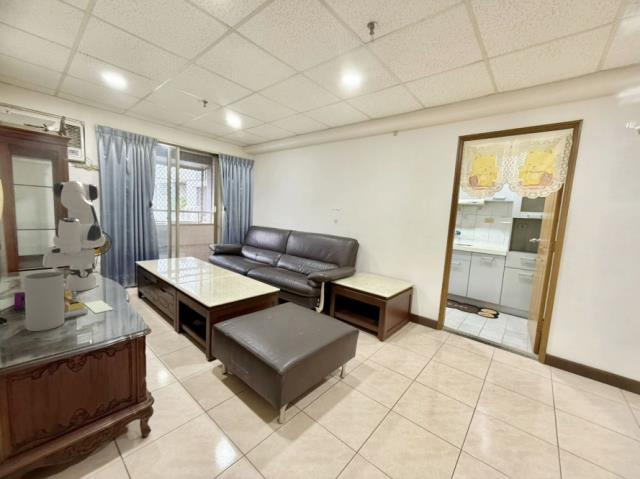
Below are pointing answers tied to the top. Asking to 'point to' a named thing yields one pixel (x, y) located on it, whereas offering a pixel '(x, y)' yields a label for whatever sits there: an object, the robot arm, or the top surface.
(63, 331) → the top surface
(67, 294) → the brass hook
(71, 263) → the robot arm
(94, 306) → the sage mat
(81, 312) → the toggle switch block
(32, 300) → the cylinder vase
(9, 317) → the top surface
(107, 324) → the top surface
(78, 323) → the top surface
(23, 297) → the mounting bracket
